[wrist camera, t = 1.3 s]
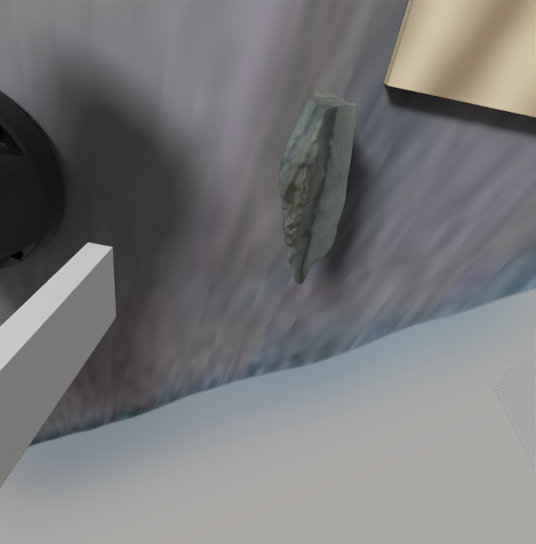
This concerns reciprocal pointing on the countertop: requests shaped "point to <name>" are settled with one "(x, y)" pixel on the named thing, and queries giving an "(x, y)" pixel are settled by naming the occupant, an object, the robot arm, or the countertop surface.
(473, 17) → the board
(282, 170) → the stone
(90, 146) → the countertop surface
